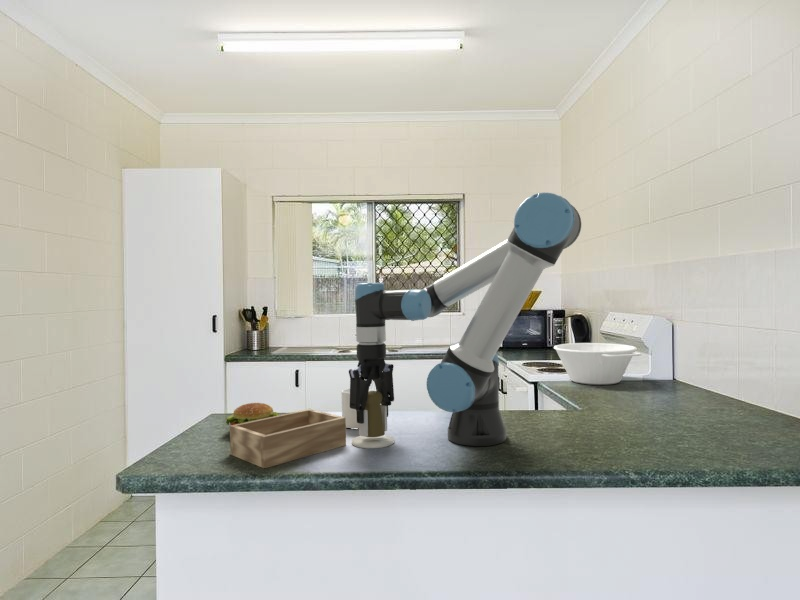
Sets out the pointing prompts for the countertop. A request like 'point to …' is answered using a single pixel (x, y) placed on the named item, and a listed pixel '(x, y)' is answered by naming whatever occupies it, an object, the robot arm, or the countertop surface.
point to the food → (250, 413)
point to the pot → (595, 361)
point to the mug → (348, 410)
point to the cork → (374, 414)
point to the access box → (287, 437)
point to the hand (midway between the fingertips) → (373, 432)
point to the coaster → (373, 441)
